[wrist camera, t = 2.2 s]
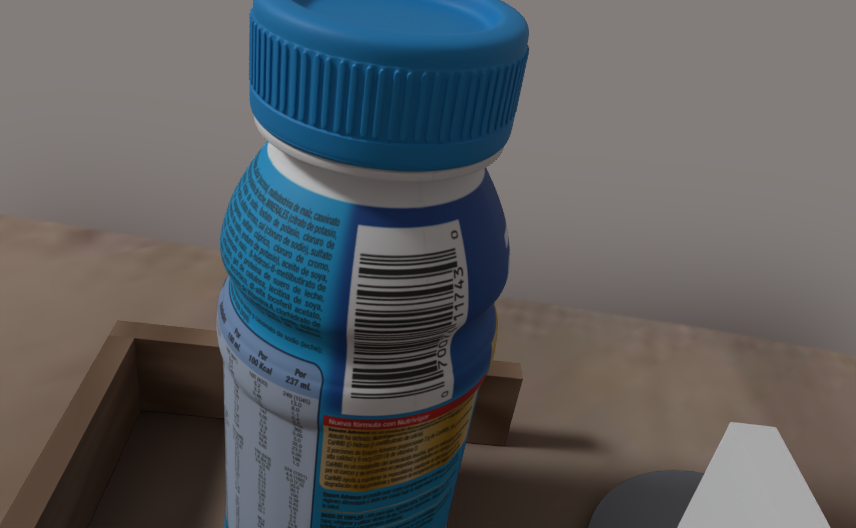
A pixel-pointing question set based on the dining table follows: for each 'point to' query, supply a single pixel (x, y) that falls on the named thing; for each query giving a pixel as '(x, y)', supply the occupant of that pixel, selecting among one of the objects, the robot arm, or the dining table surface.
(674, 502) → the slate mat
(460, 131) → the beverage bottle
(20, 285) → the dining table surface
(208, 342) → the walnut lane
